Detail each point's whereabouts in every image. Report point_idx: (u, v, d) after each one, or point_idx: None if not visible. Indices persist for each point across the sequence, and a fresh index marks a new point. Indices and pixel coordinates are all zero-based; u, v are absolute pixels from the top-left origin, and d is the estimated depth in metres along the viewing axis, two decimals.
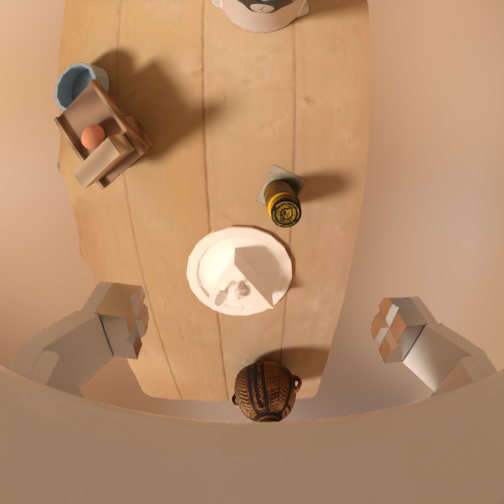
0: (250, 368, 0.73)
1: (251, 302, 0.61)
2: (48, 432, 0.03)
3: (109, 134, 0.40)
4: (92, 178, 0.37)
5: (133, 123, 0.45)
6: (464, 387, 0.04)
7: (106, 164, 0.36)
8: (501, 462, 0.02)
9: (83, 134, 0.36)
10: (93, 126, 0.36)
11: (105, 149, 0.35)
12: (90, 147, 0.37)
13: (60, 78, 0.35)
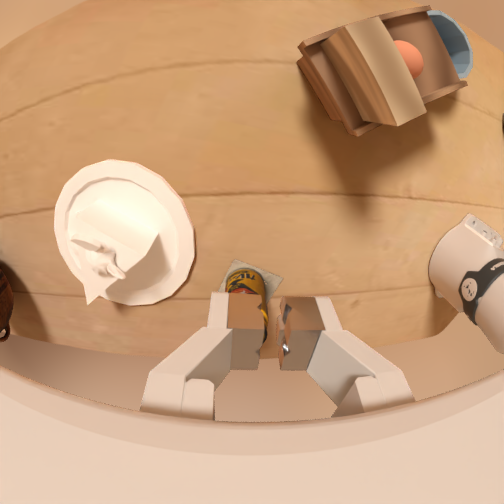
0: None
1: (87, 278, 0.34)
2: (48, 432, 0.03)
3: None
4: (364, 53, 0.15)
5: None
6: (464, 387, 0.04)
7: (386, 92, 0.16)
8: (501, 462, 0.02)
9: (418, 52, 0.16)
10: (421, 71, 0.18)
11: (410, 100, 0.17)
12: None
13: (461, 30, 0.18)
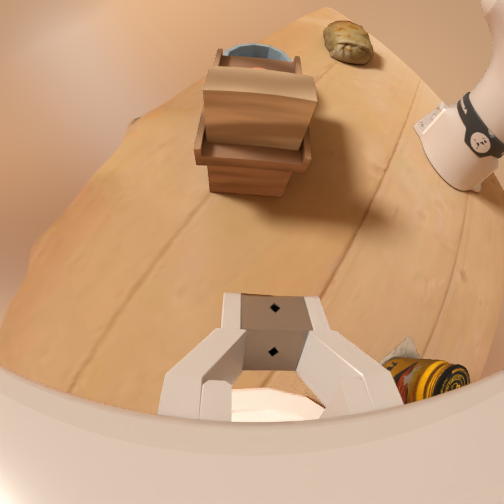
0: None
1: None
2: (48, 432, 0.03)
3: None
4: (236, 89, 0.18)
5: None
6: (464, 387, 0.04)
7: (281, 93, 0.19)
8: (501, 462, 0.02)
9: None
10: None
11: (297, 81, 0.19)
12: None
13: (249, 44, 0.34)
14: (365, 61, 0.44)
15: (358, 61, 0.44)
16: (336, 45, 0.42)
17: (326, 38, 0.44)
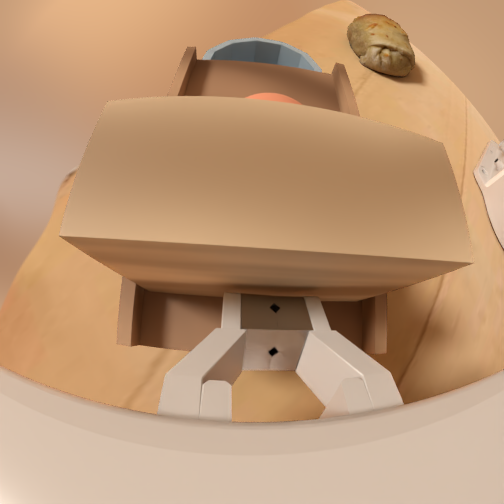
0: None
1: None
2: (48, 432, 0.03)
3: None
4: (187, 228, 0.04)
5: None
6: (464, 387, 0.04)
7: (382, 241, 0.05)
8: (501, 462, 0.02)
9: (267, 94, 0.09)
10: None
11: (416, 167, 0.05)
12: None
13: (248, 40, 0.20)
14: (406, 72, 0.30)
15: (398, 72, 0.29)
16: (370, 47, 0.28)
17: (353, 37, 0.30)
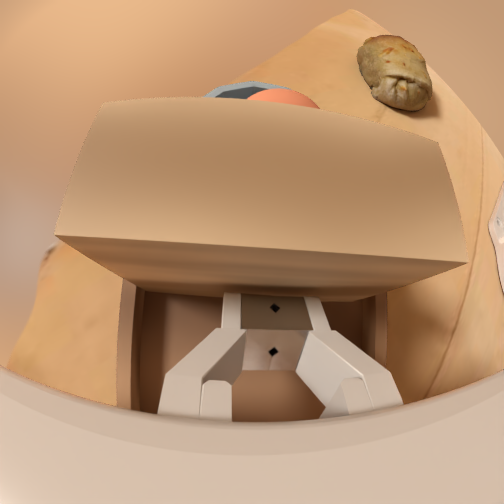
0: None
1: None
2: (48, 432, 0.03)
3: None
4: (177, 227, 0.04)
5: None
6: (464, 387, 0.04)
7: (374, 240, 0.05)
8: (501, 462, 0.02)
9: None
10: None
11: (409, 166, 0.05)
12: None
13: (242, 85, 0.18)
14: (422, 106, 0.28)
15: (415, 107, 0.27)
16: (384, 78, 0.26)
17: (365, 63, 0.27)
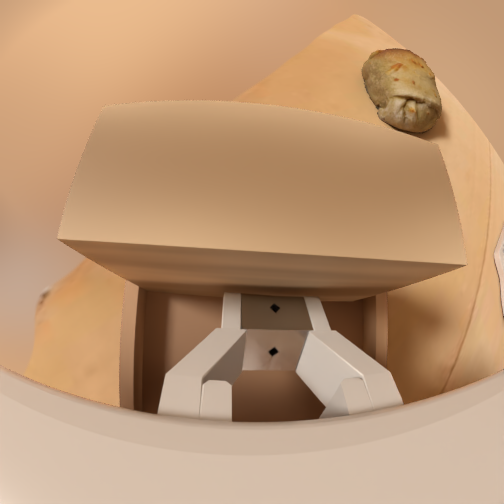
0: None
1: None
2: (48, 432, 0.03)
3: None
4: (179, 232, 0.05)
5: None
6: (464, 387, 0.04)
7: (373, 243, 0.05)
8: (501, 462, 0.02)
9: None
10: None
11: (409, 169, 0.06)
12: None
13: None
14: (431, 126, 0.27)
15: (423, 128, 0.26)
16: (392, 99, 0.24)
17: (371, 80, 0.26)
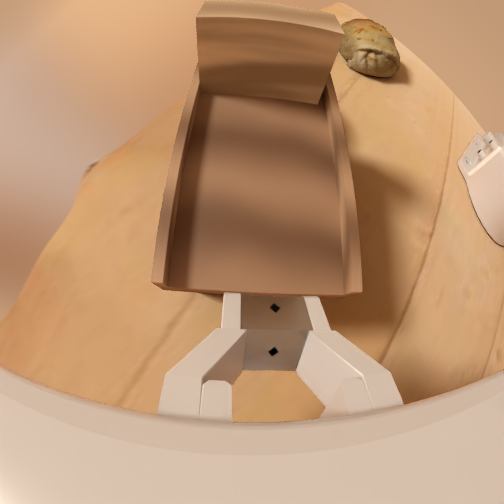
0: None
1: None
2: (48, 432, 0.03)
3: (291, 177, 0.16)
4: (239, 15, 0.11)
5: None
6: (464, 387, 0.04)
7: (299, 22, 0.12)
8: (501, 462, 0.02)
9: None
10: None
11: (316, 15, 0.12)
12: None
13: None
14: (391, 73, 0.33)
15: (384, 73, 0.33)
16: (357, 52, 0.31)
17: None
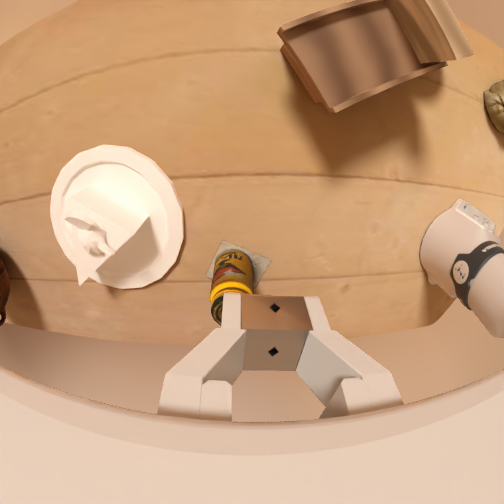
0: None
1: (79, 258, 0.35)
2: (48, 432, 0.03)
3: (368, 61, 0.22)
4: (429, 4, 0.13)
5: None
6: (464, 387, 0.04)
7: (446, 34, 0.14)
8: (501, 462, 0.02)
9: None
10: None
11: (462, 43, 0.14)
12: None
13: None
14: (499, 129, 0.31)
15: (494, 122, 0.30)
16: (497, 95, 0.26)
17: (500, 83, 0.25)
